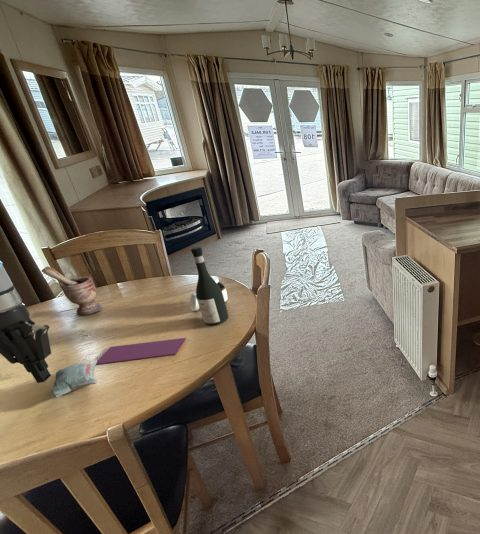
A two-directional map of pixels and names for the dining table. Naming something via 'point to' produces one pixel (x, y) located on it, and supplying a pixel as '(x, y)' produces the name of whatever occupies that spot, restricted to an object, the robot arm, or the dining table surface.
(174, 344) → the cloth
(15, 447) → the dining table surface
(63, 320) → the dining table surface
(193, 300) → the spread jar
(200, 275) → the wine bottle
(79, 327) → the dining table surface
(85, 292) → the mortar and pestle
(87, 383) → the packaged food
